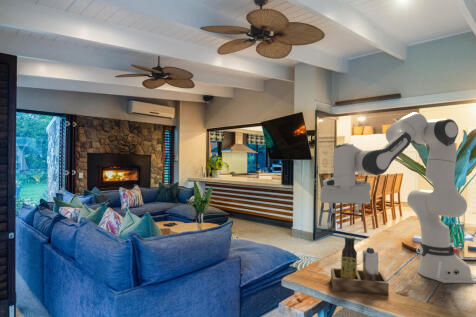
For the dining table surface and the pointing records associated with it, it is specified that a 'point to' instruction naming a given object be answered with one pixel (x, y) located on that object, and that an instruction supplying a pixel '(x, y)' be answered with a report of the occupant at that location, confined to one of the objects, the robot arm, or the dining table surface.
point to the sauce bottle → (349, 259)
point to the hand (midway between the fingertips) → (344, 213)
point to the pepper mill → (370, 264)
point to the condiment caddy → (359, 283)
